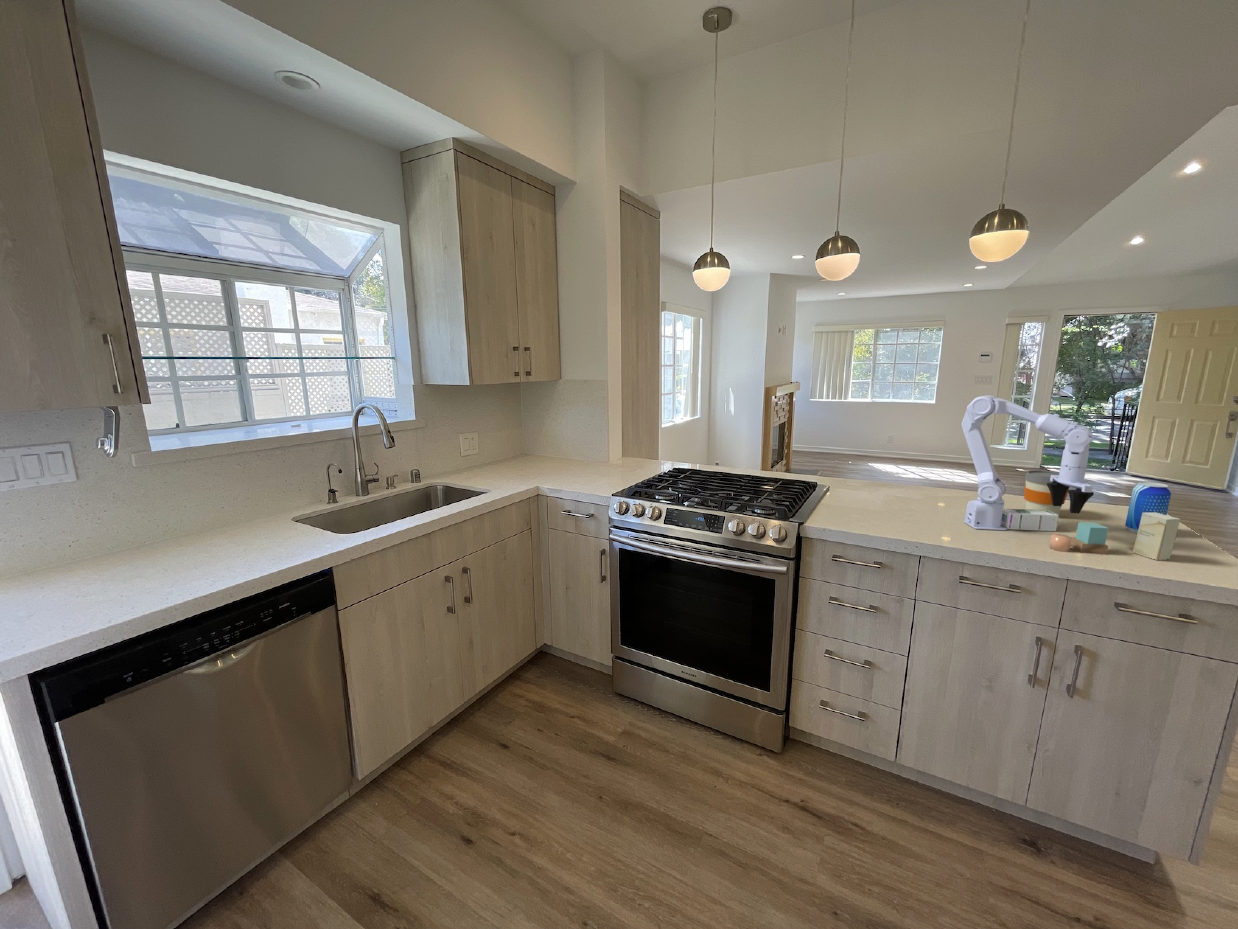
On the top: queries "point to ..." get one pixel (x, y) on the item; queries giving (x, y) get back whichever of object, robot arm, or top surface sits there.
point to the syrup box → (1029, 519)
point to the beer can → (1146, 502)
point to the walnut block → (1088, 547)
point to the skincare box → (1156, 535)
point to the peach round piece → (1060, 542)
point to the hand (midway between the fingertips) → (1065, 509)
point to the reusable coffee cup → (1040, 491)
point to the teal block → (1091, 533)
